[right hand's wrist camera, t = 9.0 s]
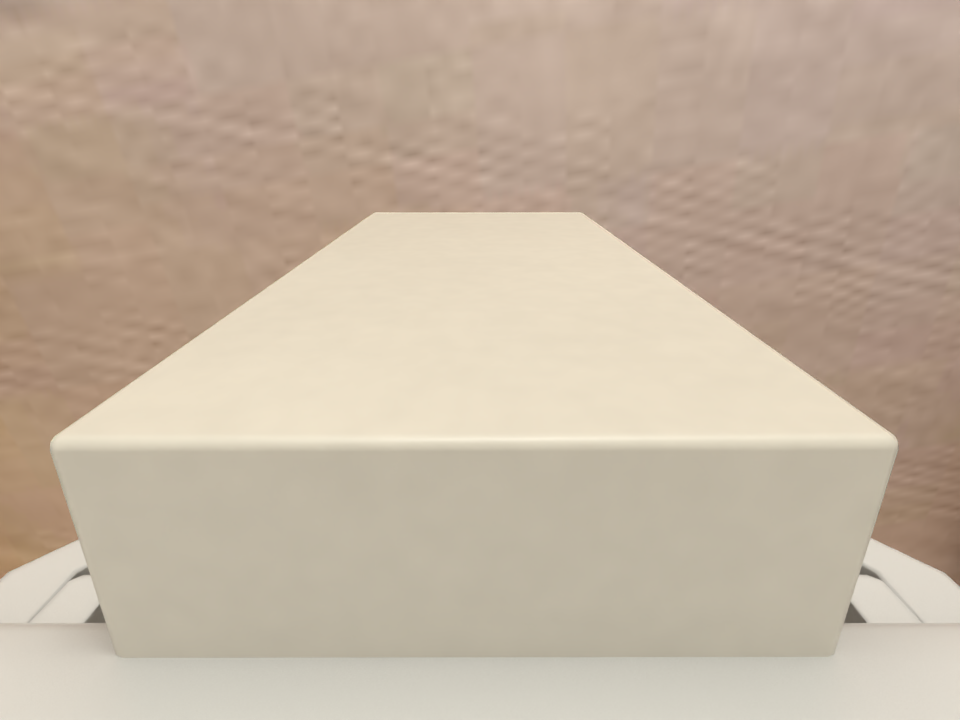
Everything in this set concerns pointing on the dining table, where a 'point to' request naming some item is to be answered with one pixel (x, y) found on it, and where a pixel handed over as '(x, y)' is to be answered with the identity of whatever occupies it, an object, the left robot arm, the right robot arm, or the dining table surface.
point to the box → (474, 464)
